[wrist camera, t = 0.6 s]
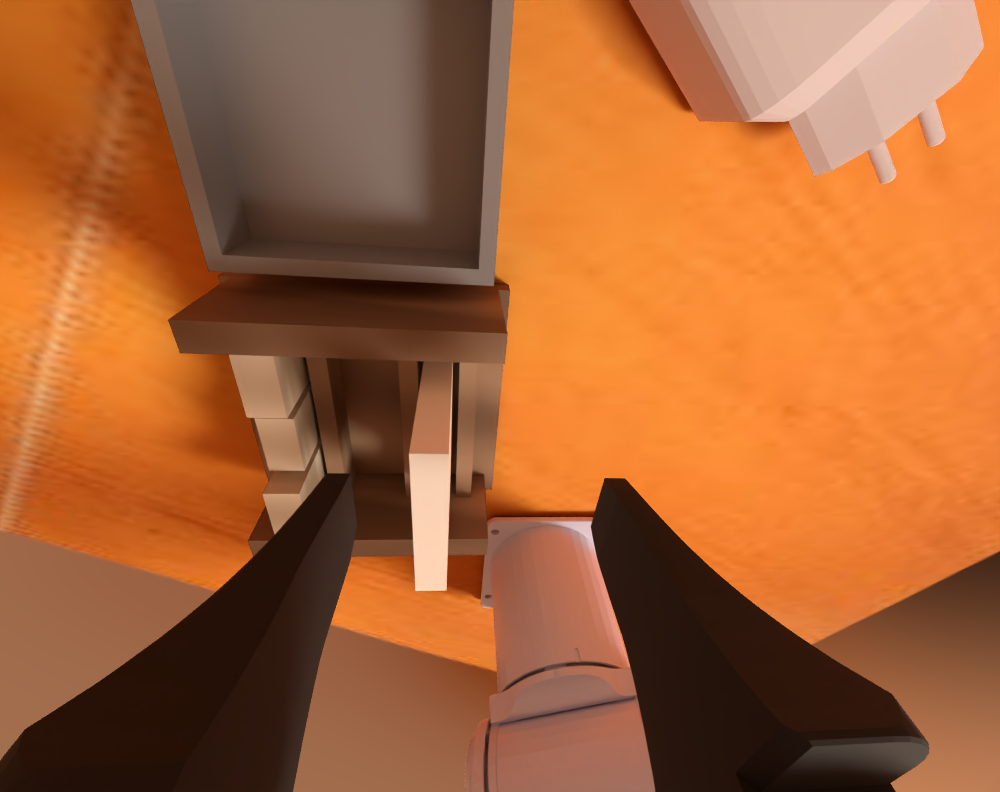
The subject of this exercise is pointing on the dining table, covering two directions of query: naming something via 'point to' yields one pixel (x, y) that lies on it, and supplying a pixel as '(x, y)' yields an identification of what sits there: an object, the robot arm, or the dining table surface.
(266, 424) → the offcuts
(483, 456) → the rack
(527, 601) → the robot arm
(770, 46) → the charger
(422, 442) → the sheet
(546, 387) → the dining table surface
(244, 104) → the tray
